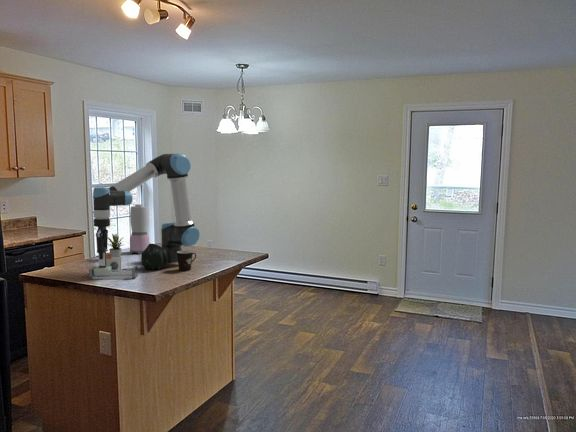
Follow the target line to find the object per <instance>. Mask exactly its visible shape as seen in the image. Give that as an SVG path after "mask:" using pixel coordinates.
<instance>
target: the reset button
mask: <svg viewBox="0 0 576 432" xmlns="http://www.w3.org/2000/svg"><path fill="white" fill-rule="evenodd" d="M111 255H112V253H110V252H106V259H111Z"/></svg>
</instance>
